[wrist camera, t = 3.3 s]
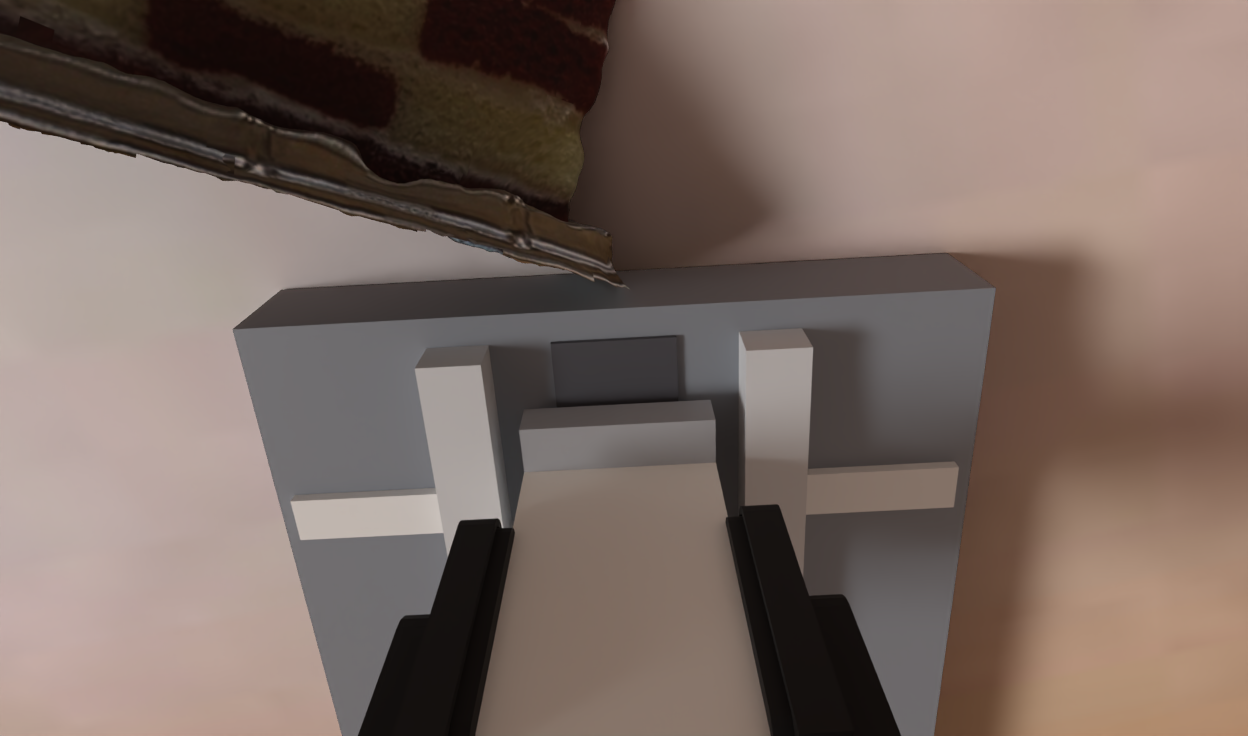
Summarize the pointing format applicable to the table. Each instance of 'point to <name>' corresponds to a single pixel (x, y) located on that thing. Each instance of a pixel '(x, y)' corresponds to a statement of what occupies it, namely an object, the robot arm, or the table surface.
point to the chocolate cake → (337, 104)
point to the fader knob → (621, 583)
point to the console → (630, 374)
